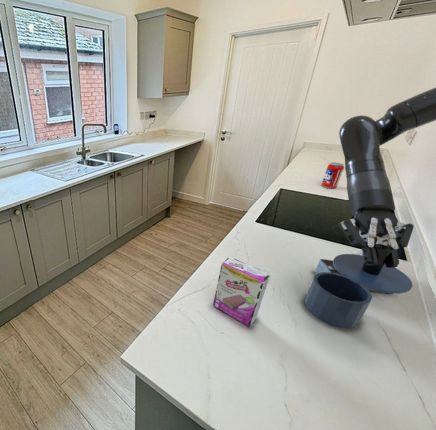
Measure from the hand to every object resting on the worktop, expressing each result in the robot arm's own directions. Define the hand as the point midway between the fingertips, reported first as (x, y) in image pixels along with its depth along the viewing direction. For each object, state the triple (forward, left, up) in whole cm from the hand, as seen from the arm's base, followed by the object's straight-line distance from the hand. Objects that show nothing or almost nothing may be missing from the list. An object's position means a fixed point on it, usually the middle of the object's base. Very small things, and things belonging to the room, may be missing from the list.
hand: (382, 266), depth 57 cm
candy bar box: (+23, +13, -24) cm, 35 cm away
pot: (+5, -9, -24) cm, 26 cm away
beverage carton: (+4, -28, -24) cm, 38 cm away
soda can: (+35, -127, -24) cm, 134 cm away
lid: (+1, -2, -3) cm, 4 cm away
